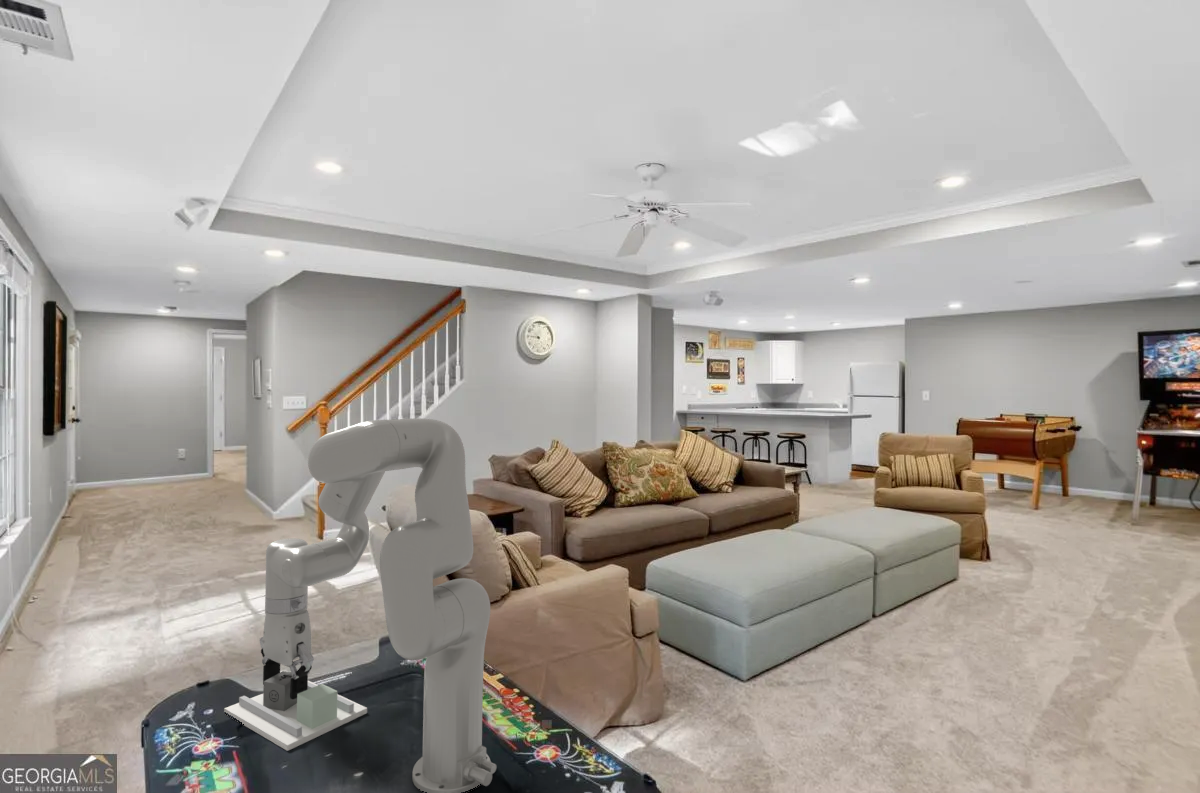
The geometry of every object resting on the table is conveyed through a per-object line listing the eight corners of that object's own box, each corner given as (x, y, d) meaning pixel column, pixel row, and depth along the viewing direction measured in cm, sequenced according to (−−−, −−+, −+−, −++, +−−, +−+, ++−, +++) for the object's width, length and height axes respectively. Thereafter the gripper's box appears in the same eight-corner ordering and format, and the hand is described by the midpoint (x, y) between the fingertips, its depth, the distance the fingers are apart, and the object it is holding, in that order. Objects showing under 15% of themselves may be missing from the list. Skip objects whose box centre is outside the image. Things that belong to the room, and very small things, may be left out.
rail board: (366, 713, 122) (367, 682, 122) (287, 751, 108) (287, 716, 108) (302, 682, 134) (303, 654, 134) (224, 713, 120) (224, 682, 120)
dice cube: (303, 699, 125) (303, 674, 125) (284, 711, 120) (284, 685, 120) (282, 695, 126) (283, 670, 126) (263, 707, 121) (263, 681, 121)
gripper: (329, 606, 122) (328, 694, 122) (281, 590, 131) (279, 671, 131) (292, 617, 115) (290, 710, 115) (244, 599, 125) (242, 684, 125)
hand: (284, 689), depth 123 cm, fingers open, 9 cm apart
